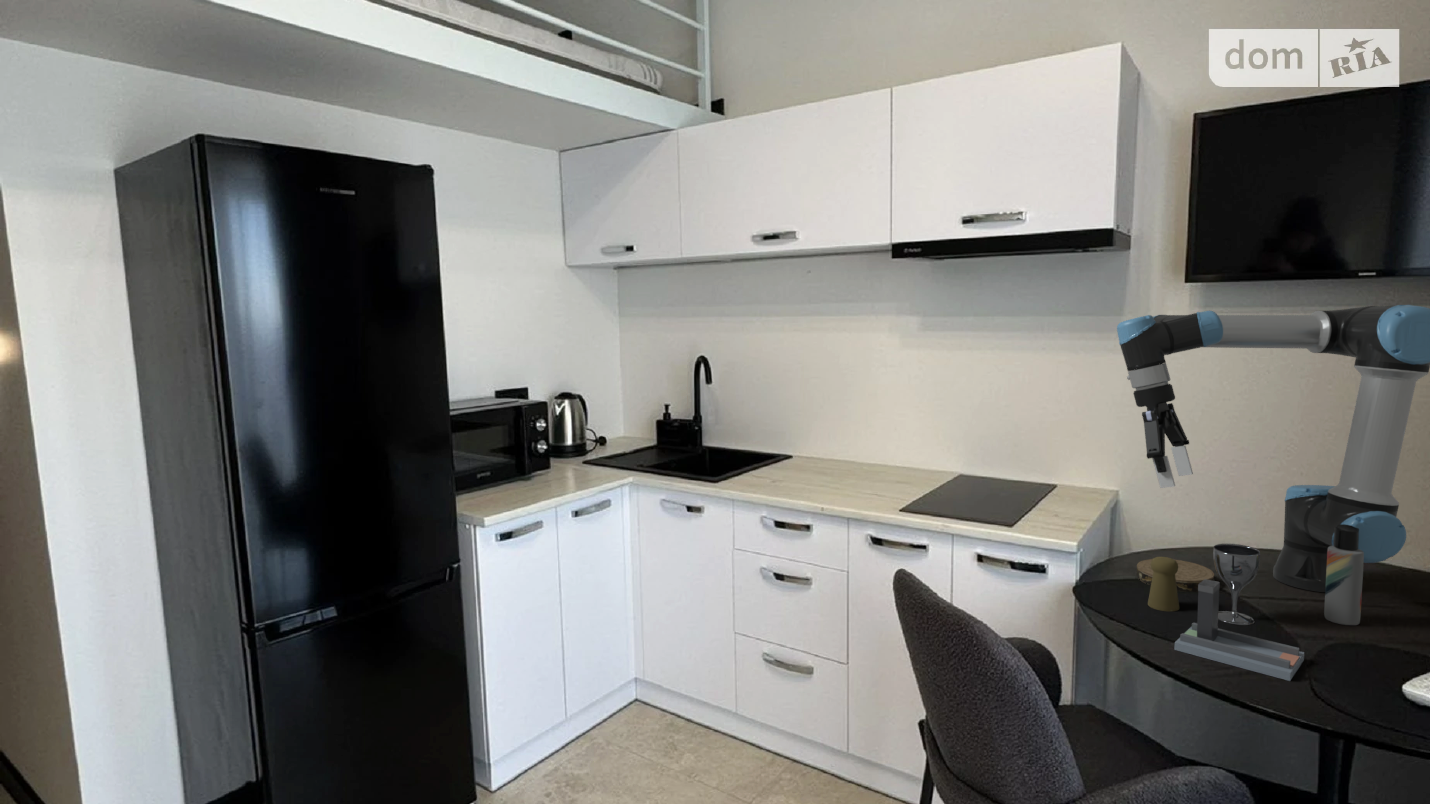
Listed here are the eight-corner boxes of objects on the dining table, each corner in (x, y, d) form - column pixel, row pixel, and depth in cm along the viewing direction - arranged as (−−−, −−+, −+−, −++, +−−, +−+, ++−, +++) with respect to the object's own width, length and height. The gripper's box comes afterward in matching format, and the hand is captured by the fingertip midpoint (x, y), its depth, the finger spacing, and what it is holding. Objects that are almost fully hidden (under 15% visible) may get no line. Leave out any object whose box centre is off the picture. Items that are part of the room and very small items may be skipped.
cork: (1184, 612, 160) (1185, 563, 159) (1153, 610, 161) (1154, 562, 160) (1172, 601, 166) (1174, 554, 165) (1143, 600, 167) (1144, 553, 166)
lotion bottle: (1352, 616, 154) (1357, 523, 152) (1365, 627, 149) (1371, 530, 147) (1319, 613, 156) (1323, 521, 154) (1331, 624, 151) (1336, 529, 149)
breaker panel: (1174, 649, 143) (1174, 636, 142) (1192, 632, 150) (1193, 619, 150) (1290, 681, 129) (1290, 666, 129) (1303, 660, 137) (1304, 646, 136)
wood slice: (1215, 597, 168) (1215, 584, 168) (1135, 586, 176) (1135, 574, 176) (1212, 575, 181) (1212, 563, 181) (1138, 566, 190) (1138, 555, 189)
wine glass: (1202, 612, 160) (1204, 544, 158) (1236, 609, 160) (1239, 542, 158) (1230, 627, 152) (1233, 556, 150) (1267, 624, 152) (1269, 553, 151)
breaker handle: (1196, 639, 143) (1198, 584, 142) (1203, 632, 145) (1204, 579, 144) (1211, 643, 141) (1213, 587, 140) (1217, 636, 144) (1219, 582, 142)
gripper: (1150, 384, 173) (1174, 472, 172) (1113, 396, 156) (1140, 494, 155) (1186, 377, 168) (1211, 468, 167) (1152, 388, 151) (1179, 490, 149)
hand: (1177, 480), depth 161 cm, fingers open, 13 cm apart
